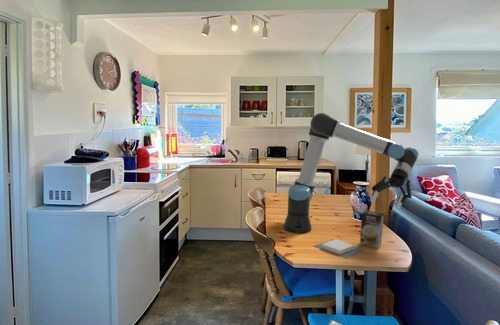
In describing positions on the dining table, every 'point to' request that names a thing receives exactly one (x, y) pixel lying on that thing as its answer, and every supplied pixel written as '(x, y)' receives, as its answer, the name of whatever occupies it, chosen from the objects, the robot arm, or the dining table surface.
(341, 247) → the tile
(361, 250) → the mat
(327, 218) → the dining table surface
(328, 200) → the dining table surface
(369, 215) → the coffee box
